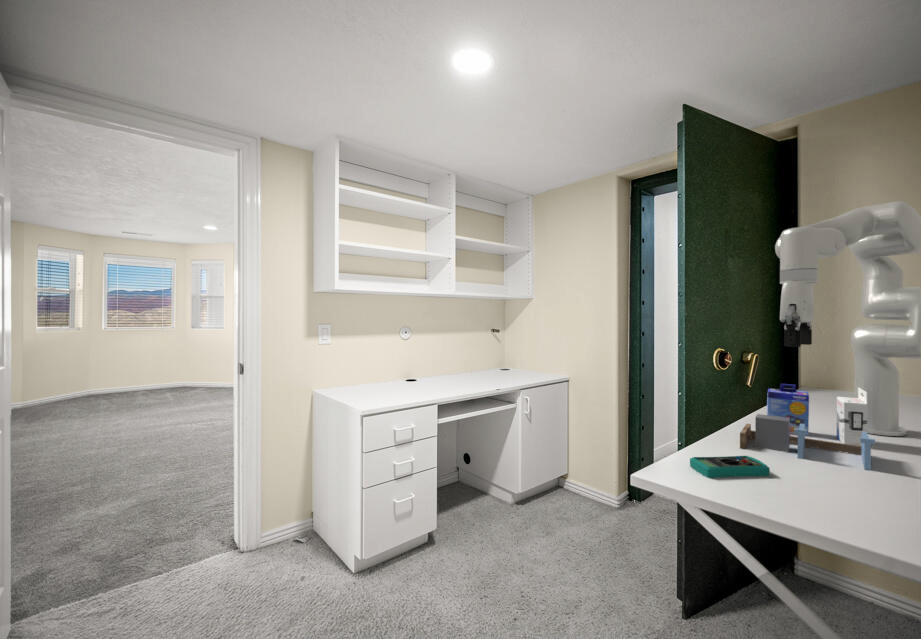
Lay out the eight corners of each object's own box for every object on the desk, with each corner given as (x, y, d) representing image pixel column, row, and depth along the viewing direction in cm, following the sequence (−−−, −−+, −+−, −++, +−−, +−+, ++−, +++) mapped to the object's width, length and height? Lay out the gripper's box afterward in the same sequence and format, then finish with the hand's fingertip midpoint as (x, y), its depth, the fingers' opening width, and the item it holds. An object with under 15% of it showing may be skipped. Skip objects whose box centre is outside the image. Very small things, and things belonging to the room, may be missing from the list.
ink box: (835, 437, 122) (835, 385, 121) (858, 439, 119) (859, 386, 119) (843, 445, 114) (843, 390, 114) (868, 448, 112) (868, 392, 111)
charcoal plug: (757, 442, 117) (757, 414, 117) (789, 448, 113) (789, 417, 113) (755, 447, 114) (755, 417, 114) (788, 452, 109) (788, 421, 109)
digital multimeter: (773, 478, 94) (773, 465, 94) (707, 480, 94) (707, 467, 94) (749, 466, 102) (749, 453, 102) (688, 468, 101) (688, 455, 101)
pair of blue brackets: (796, 445, 115) (796, 419, 115) (870, 456, 105) (871, 428, 105) (793, 457, 106) (794, 429, 106) (874, 470, 96) (875, 440, 96)
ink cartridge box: (767, 431, 128) (767, 383, 128) (767, 427, 132) (767, 380, 132) (809, 436, 122) (809, 386, 122) (808, 432, 127) (808, 383, 126)
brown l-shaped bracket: (747, 436, 123) (747, 422, 123) (866, 454, 107) (866, 439, 107) (739, 448, 113) (739, 433, 113) (870, 470, 97) (870, 452, 97)
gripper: (790, 279, 116) (790, 342, 116) (769, 277, 105) (769, 346, 105) (826, 278, 110) (825, 344, 110) (807, 274, 99) (807, 348, 99)
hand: (798, 345), depth 108 cm, fingers open, 9 cm apart
